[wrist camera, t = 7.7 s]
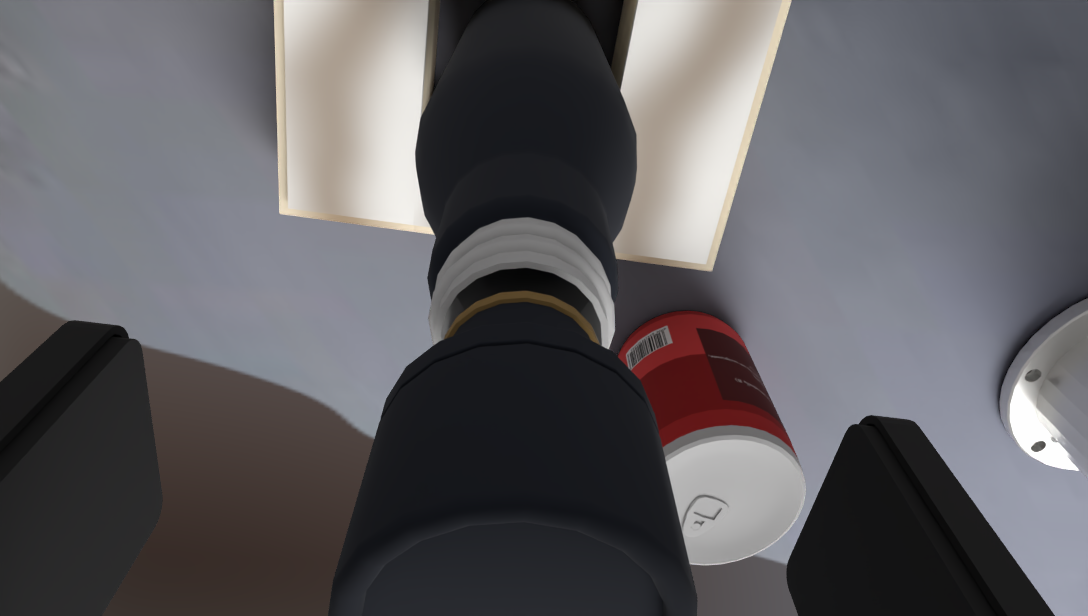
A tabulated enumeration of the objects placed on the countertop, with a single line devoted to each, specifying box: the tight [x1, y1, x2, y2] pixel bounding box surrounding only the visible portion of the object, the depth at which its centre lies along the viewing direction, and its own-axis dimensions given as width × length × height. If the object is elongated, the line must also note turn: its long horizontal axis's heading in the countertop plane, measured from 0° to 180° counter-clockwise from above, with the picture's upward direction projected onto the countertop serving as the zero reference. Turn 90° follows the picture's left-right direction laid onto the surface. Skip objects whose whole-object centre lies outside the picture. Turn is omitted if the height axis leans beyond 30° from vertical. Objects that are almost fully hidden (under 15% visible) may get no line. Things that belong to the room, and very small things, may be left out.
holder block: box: [274, 0, 792, 272], centre depth 32 cm, size 20×15×4 cm
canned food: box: [618, 311, 806, 565], centre depth 37 cm, size 8×8×11 cm
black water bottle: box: [328, 0, 697, 616], centre depth 21 cm, size 6×6×30 cm
